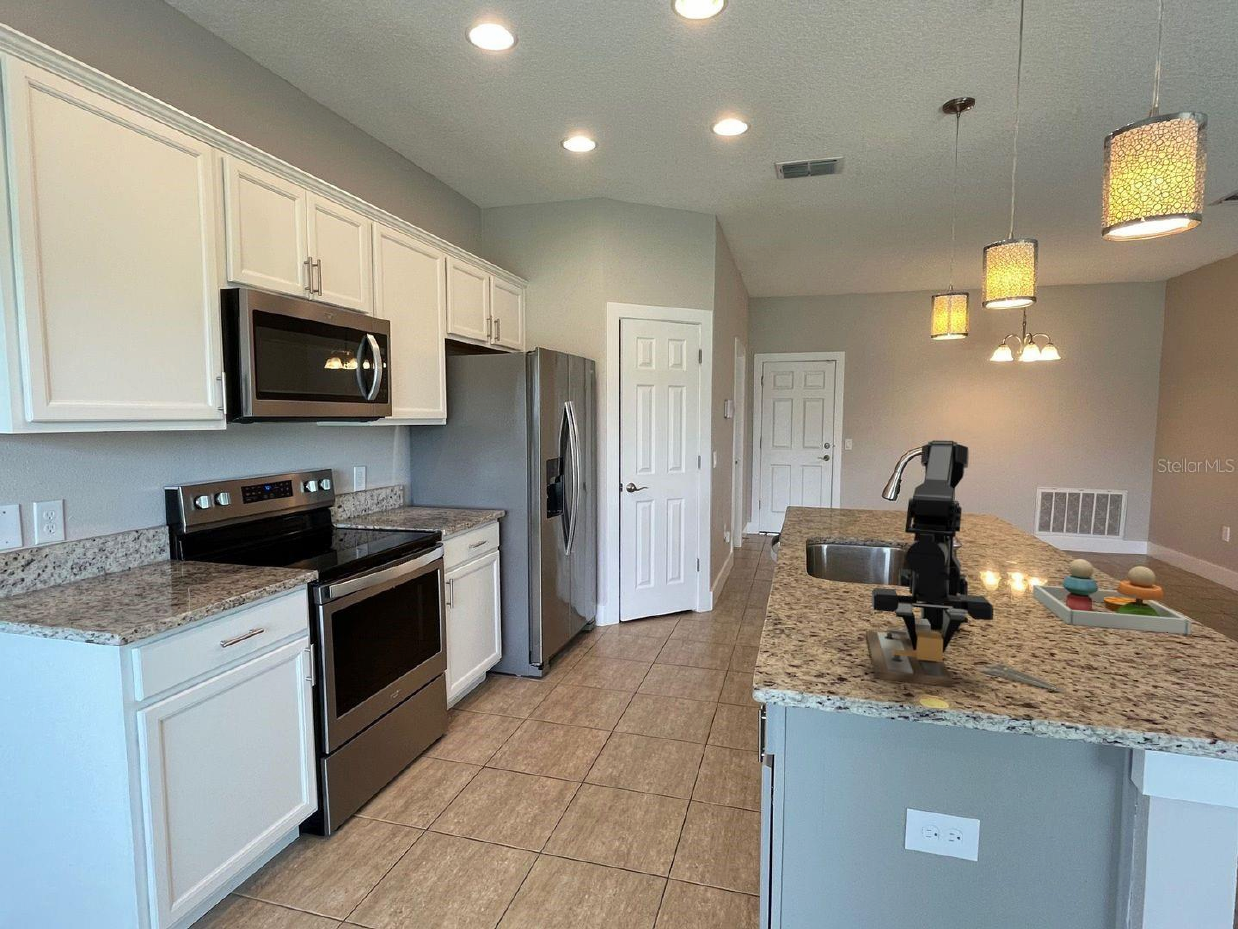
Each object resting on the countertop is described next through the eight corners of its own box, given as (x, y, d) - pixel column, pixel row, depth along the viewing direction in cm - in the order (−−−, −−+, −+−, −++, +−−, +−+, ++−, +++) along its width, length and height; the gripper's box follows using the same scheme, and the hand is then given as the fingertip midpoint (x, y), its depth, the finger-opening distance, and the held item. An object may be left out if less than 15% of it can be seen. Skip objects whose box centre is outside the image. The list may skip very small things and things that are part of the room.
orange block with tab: (937, 658, 112) (938, 632, 111) (942, 667, 108) (943, 639, 107) (892, 654, 114) (893, 627, 113) (895, 662, 110) (896, 634, 110)
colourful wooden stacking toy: (1149, 609, 148) (1152, 557, 148) (1166, 629, 134) (1169, 572, 133) (1057, 598, 158) (1059, 549, 157) (1063, 616, 143) (1066, 562, 142)
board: (930, 643, 125) (930, 616, 124) (953, 687, 104) (954, 655, 103) (865, 636, 128) (866, 611, 128) (875, 678, 107) (876, 647, 107)
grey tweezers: (977, 674, 110) (978, 664, 110) (988, 668, 113) (990, 658, 113) (1095, 718, 97) (1097, 706, 96) (1105, 710, 99) (1107, 698, 99)
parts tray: (1136, 604, 152) (1137, 592, 152) (1190, 634, 130) (1191, 620, 130) (1032, 596, 159) (1033, 584, 158) (1067, 624, 137) (1068, 610, 136)
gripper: (979, 558, 114) (975, 641, 115) (870, 551, 120) (867, 631, 121) (996, 572, 103) (992, 663, 104) (875, 564, 109) (872, 651, 110)
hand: (927, 650), depth 110 cm, fingers open, 4 cm apart
